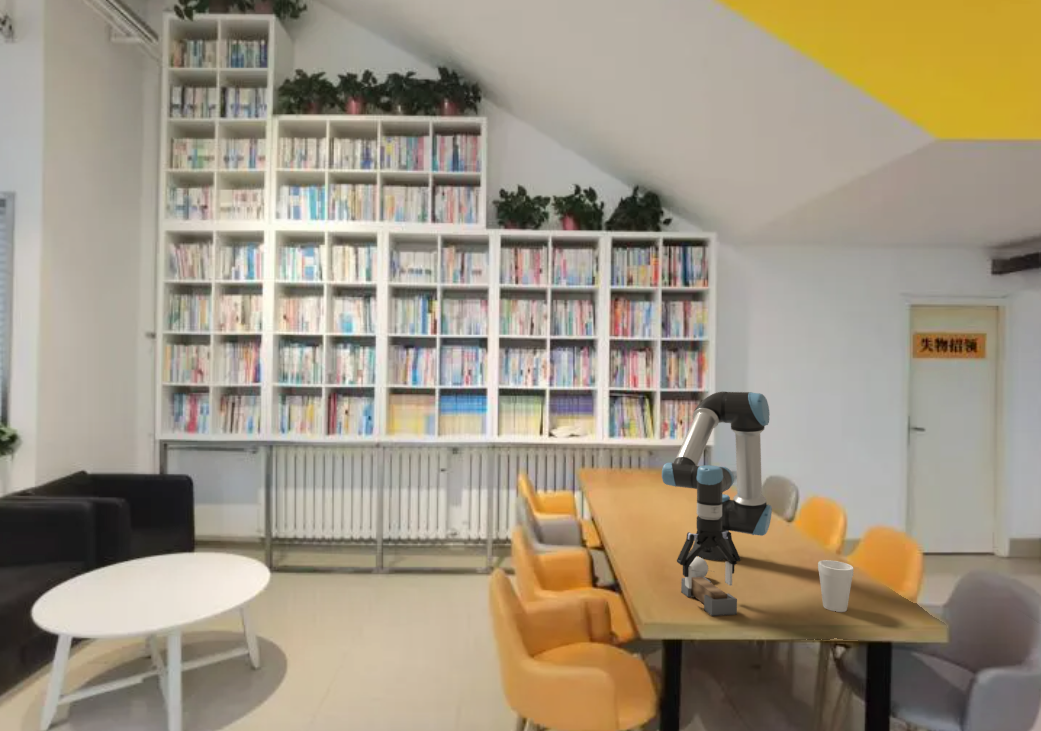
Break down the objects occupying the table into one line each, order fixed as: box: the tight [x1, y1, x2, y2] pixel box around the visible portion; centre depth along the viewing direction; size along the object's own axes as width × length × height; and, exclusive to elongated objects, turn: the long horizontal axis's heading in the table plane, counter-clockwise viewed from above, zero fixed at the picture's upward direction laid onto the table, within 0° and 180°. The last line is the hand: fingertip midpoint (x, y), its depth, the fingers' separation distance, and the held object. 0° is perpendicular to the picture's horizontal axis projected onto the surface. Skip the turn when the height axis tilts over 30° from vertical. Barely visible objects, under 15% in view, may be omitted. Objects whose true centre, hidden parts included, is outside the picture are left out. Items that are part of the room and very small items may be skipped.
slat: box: [691, 577, 728, 604], centre depth 182 cm, size 15×4×5 cm, turn 11°
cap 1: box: [680, 576, 712, 598], centre depth 190 cm, size 4×8×4 cm, turn 102°
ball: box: [689, 556, 715, 578], centre depth 203 cm, size 10×7×7 cm
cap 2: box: [703, 593, 738, 617], centre depth 175 cm, size 4×8×4 cm, turn 102°
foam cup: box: [817, 559, 854, 613], centre depth 181 cm, size 10×9×13 cm
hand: (708, 585), depth 183 cm, fingers open, 13 cm apart
